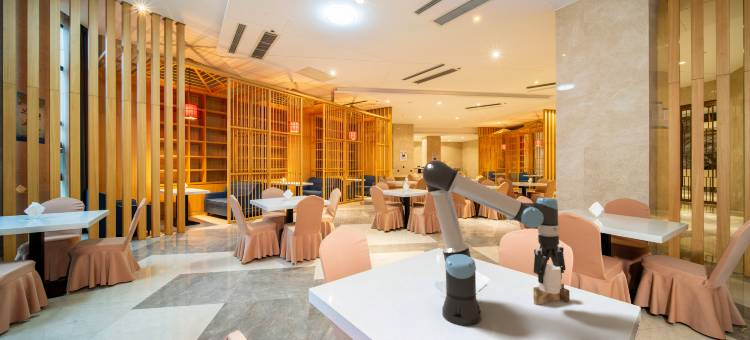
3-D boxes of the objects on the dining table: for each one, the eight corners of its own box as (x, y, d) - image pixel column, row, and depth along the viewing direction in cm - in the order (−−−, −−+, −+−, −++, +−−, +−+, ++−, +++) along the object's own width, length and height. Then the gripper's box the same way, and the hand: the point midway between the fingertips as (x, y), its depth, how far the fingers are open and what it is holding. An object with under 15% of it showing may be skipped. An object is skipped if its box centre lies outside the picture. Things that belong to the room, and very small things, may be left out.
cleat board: (541, 307, 124) (541, 290, 124) (533, 303, 128) (533, 287, 128) (569, 301, 129) (569, 285, 129) (561, 297, 132) (561, 282, 132)
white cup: (565, 295, 117) (564, 270, 117) (543, 294, 119) (542, 269, 119) (557, 287, 125) (556, 264, 125) (537, 286, 127) (536, 263, 127)
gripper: (536, 238, 116) (538, 296, 115) (574, 234, 122) (577, 288, 122) (521, 235, 123) (524, 289, 123) (558, 230, 129) (560, 282, 129)
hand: (550, 288), depth 122 cm, fingers closed on white cup, 7 cm apart
